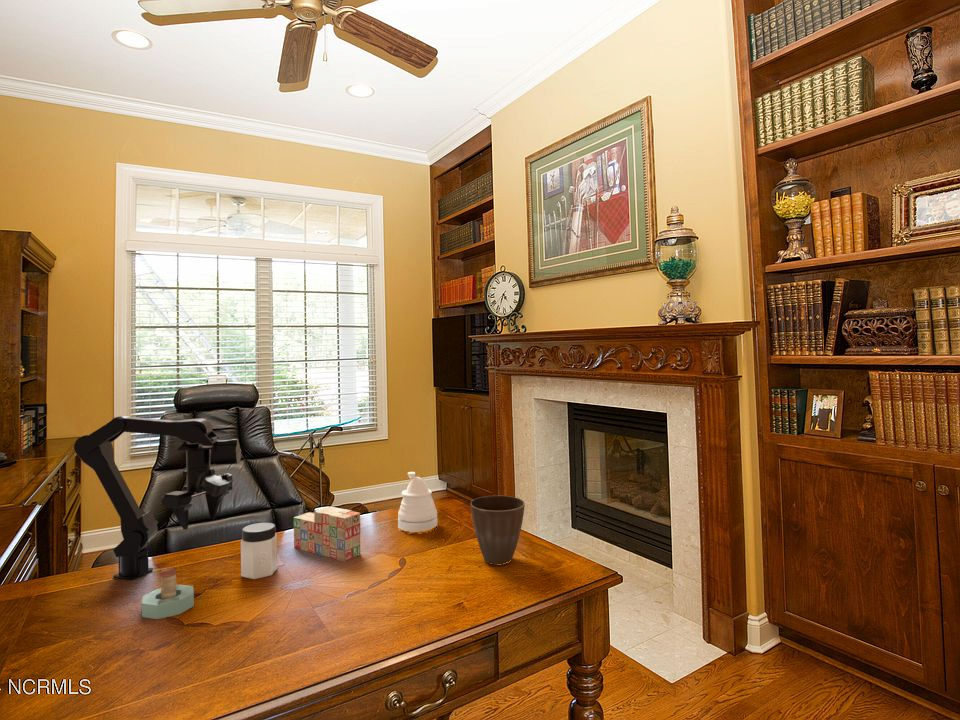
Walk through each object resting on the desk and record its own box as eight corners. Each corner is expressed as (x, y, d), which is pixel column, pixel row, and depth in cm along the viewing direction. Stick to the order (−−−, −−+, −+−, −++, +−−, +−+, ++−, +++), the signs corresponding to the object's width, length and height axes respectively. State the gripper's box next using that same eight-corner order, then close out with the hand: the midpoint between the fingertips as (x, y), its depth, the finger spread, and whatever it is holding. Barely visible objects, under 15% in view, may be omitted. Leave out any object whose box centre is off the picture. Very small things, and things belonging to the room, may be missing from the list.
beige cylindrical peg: (158, 610, 120) (157, 572, 120) (169, 604, 123) (168, 567, 123) (168, 611, 120) (168, 573, 120) (179, 605, 122) (179, 568, 122)
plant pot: (536, 562, 145) (536, 504, 145) (492, 576, 136) (491, 513, 136) (503, 547, 157) (503, 492, 157) (460, 558, 149) (460, 501, 149)
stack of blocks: (293, 548, 159) (292, 507, 159) (310, 542, 164) (309, 502, 164) (345, 562, 148) (344, 517, 147) (361, 554, 153) (360, 511, 153)
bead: (131, 615, 118) (131, 601, 118) (169, 595, 128) (169, 583, 128) (168, 620, 115) (167, 607, 115) (203, 600, 125) (203, 587, 125)
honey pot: (392, 532, 171) (392, 476, 171) (405, 520, 184) (404, 468, 184) (431, 534, 169) (431, 477, 169) (441, 521, 182) (440, 469, 182)
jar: (244, 582, 135) (243, 534, 135) (238, 571, 142) (237, 526, 141) (281, 573, 140) (280, 528, 140) (273, 564, 147) (273, 520, 146)
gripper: (194, 475, 133) (195, 537, 133) (247, 460, 151) (248, 516, 151) (159, 472, 136) (160, 534, 136) (215, 459, 154) (216, 513, 154)
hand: (199, 523), depth 144 cm, fingers open, 9 cm apart
